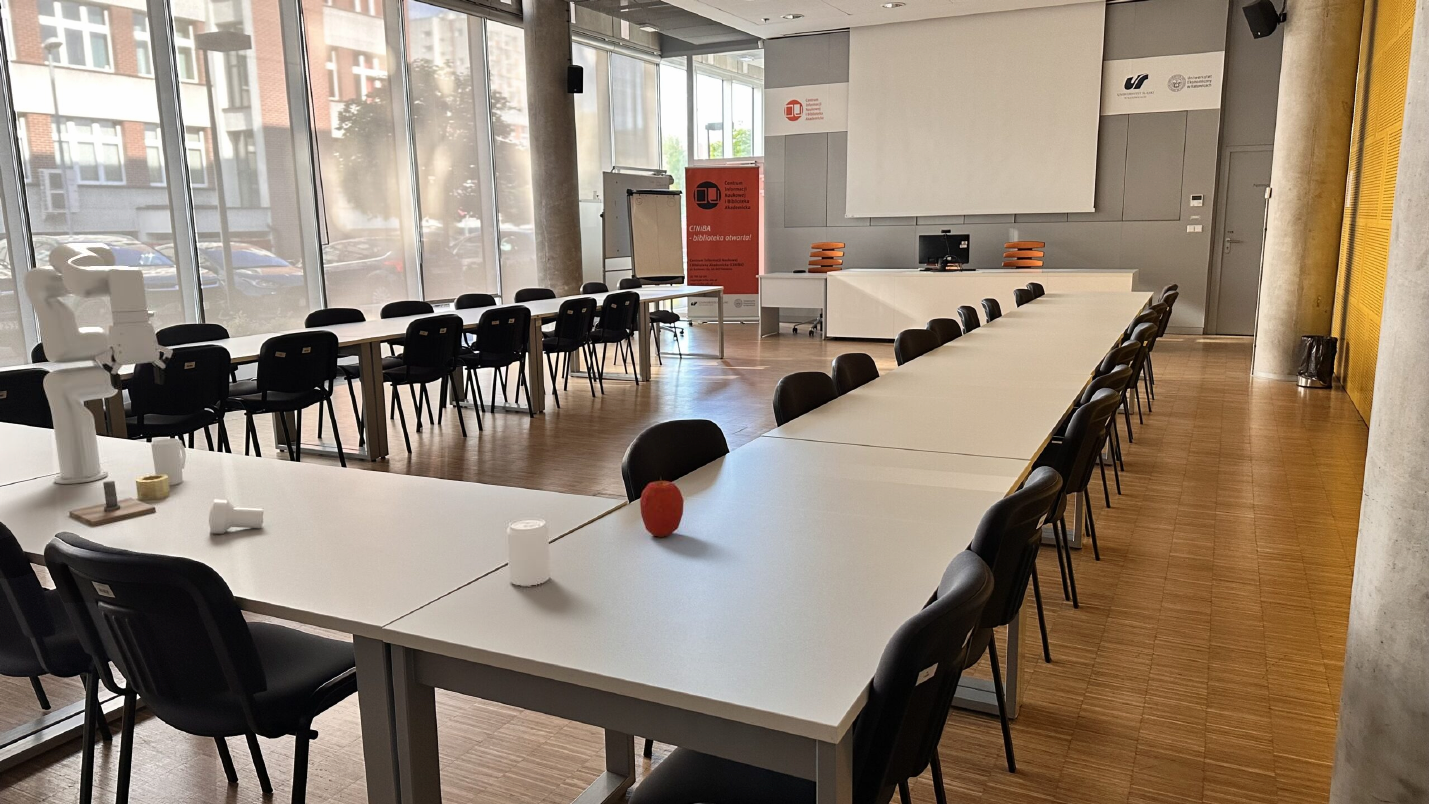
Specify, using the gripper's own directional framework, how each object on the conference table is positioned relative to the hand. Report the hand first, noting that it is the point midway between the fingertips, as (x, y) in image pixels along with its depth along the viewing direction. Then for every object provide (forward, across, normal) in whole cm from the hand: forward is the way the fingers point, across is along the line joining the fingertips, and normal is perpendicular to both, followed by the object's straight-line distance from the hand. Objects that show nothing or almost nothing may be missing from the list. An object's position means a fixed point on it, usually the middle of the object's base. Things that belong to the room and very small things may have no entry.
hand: (139, 386), depth 232 cm
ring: (+31, -4, -9) cm, 33 cm away
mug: (+31, -14, -20) cm, 40 cm away
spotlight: (+32, -2, +37) cm, 49 cm away
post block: (+31, +9, -1) cm, 32 cm away
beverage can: (+32, -21, +117) cm, 123 cm away
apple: (+32, -58, +121) cm, 138 cm away
